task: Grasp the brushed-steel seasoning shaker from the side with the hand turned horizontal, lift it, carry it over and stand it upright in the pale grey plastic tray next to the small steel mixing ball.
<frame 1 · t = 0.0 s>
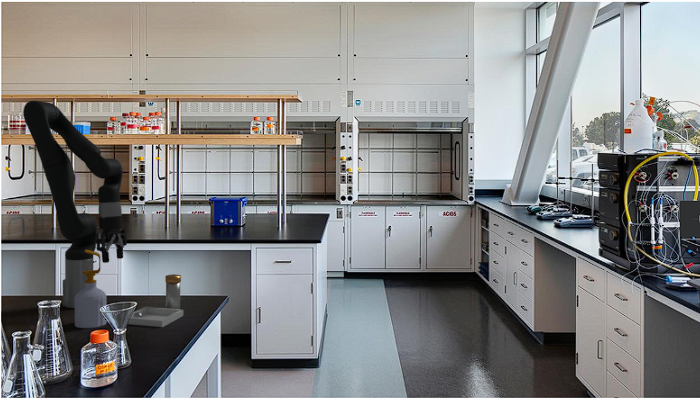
hand: (113, 260, 204), 17 cm above the table, tool pointing down, fingers open, 8 cm apart
ball: (138, 321, 186), point 1 cm above the table, touching tray
soap bottle: (90, 327, 182), on the table
shaker: (172, 312, 201), on the table
tray: (153, 322, 189), on the table
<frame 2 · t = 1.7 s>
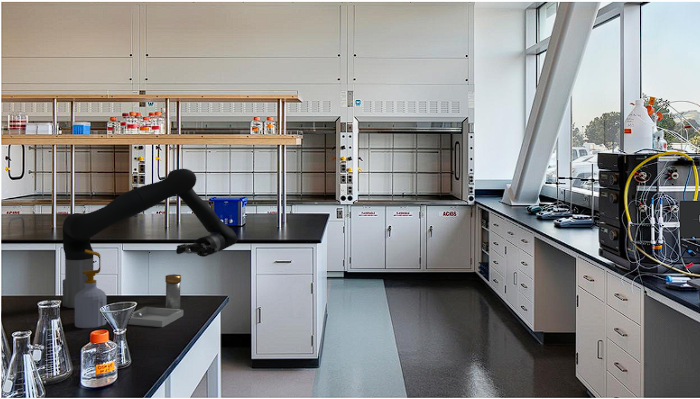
hand: (188, 252, 211), 20 cm above the table, tool horizontal, fingers open, 8 cm apart
nothing on the table moved.
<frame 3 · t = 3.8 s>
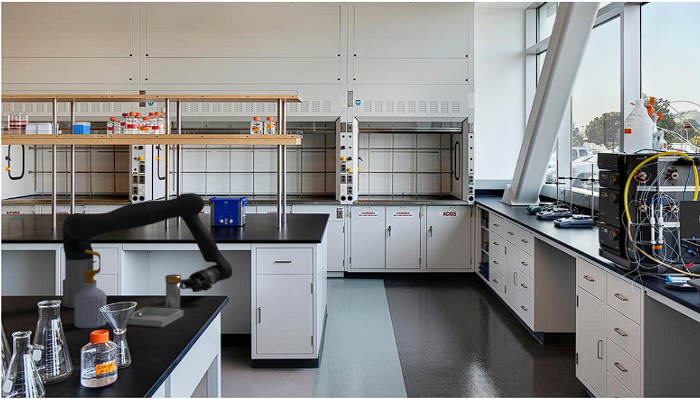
hand: (182, 288, 208), 7 cm above the table, tool horizontal, fingers open, 8 cm apart
nothing on the table moved.
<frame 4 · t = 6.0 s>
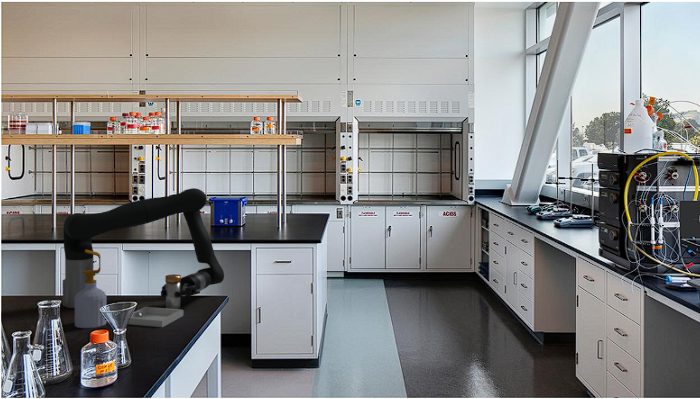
hand: (169, 294, 198), 7 cm above the table, tool horizontal, fingers closed on shaker, 4 cm apart
shaker: (173, 312, 201), on the table, touching gripper
everything else where it was.
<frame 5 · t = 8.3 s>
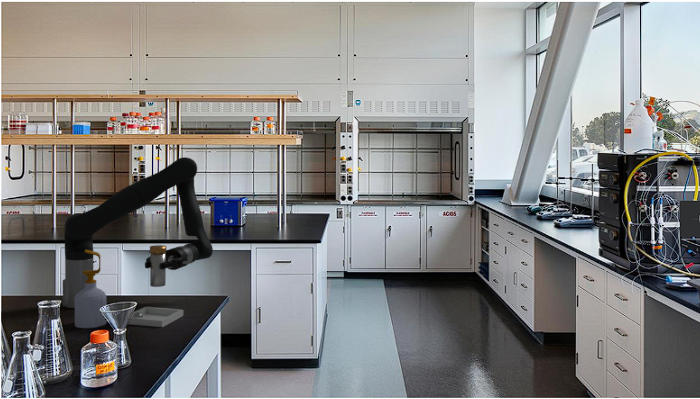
hand: (154, 265, 187), 19 cm above the table, tool horizontal, fingers closed on shaker, 4 cm apart
shaker: (157, 285, 190), point 12 cm above the table, touching gripper
everything else where it was.
when the fingers open (10 cm above the table, at t = 10.7 s): shaker drops 2 cm, resting on tray.
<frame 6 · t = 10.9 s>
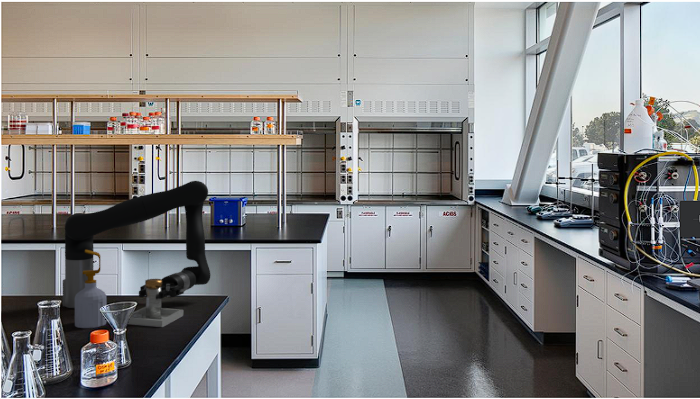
hand: (149, 295, 186), 10 cm above the table, tool horizontal, fingers open, 6 cm apart
shaker: (153, 319, 189), point 1 cm above the table, touching tray
everything else where it was.
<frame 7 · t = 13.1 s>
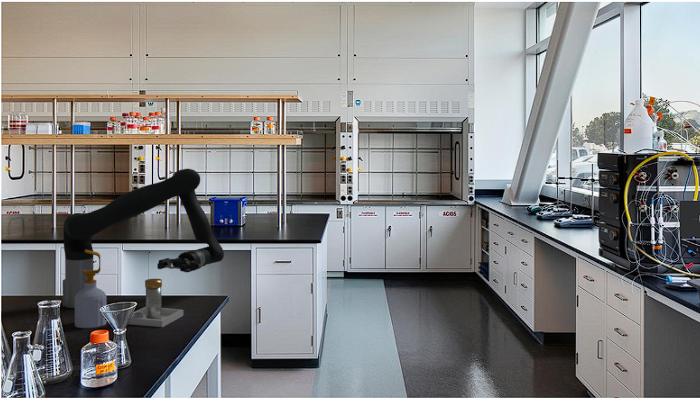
hand: (169, 267, 200), 16 cm above the table, tool horizontal, fingers open, 8 cm apart
nothing on the table moved.
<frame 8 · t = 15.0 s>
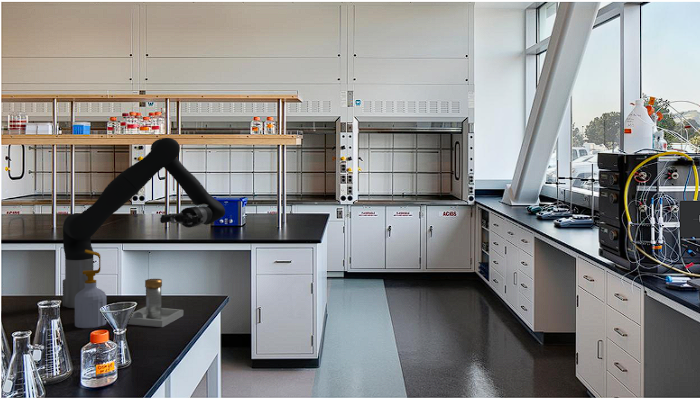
hand: (172, 220, 203), 32 cm above the table, tool horizontal, fingers open, 8 cm apart
nothing on the table moved.
at the end: shaker inside the target area (0.1 cm from its centre), point 1.1 cm above the table; shaker tilted 1°; the gripper is holding nothing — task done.
